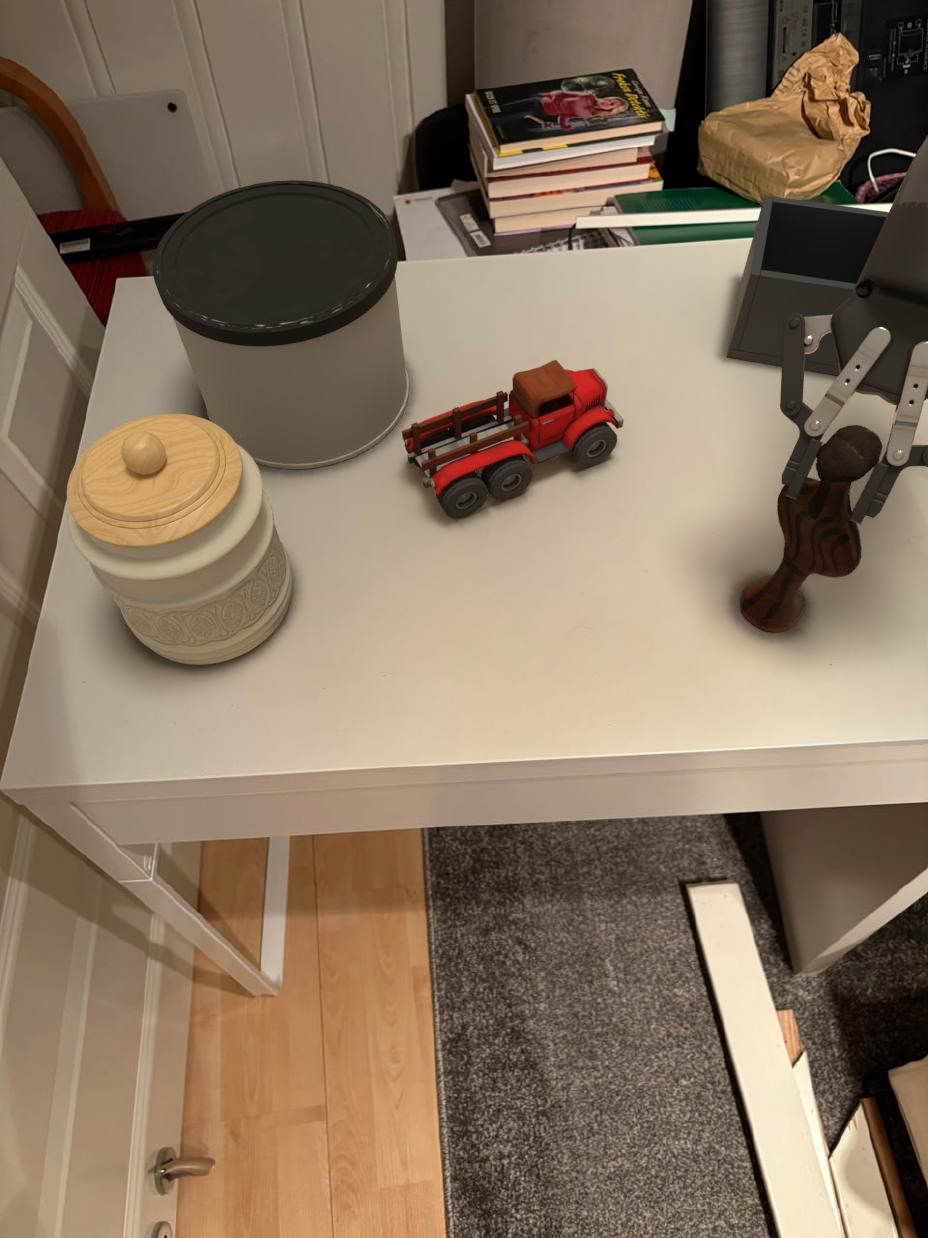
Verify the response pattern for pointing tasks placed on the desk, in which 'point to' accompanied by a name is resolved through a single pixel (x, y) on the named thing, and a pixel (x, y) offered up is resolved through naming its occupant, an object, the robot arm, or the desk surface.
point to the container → (289, 318)
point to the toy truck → (513, 436)
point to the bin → (799, 274)
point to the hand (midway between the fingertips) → (823, 508)
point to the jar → (181, 537)
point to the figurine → (815, 530)
